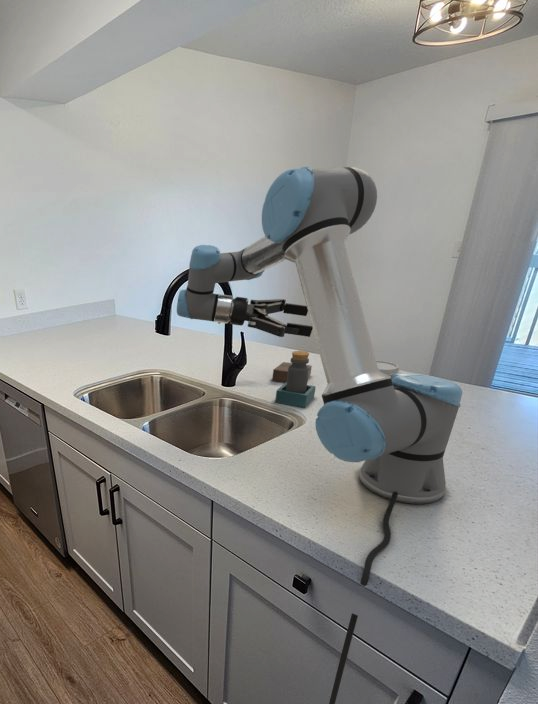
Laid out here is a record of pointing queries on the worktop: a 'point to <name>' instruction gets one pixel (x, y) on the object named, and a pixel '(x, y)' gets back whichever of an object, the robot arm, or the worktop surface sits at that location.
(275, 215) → the robot arm
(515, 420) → the worktop surface
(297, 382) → the bottle
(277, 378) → the stand
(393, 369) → the disposable coffee cup
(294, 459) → the worktop surface
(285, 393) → the holder
